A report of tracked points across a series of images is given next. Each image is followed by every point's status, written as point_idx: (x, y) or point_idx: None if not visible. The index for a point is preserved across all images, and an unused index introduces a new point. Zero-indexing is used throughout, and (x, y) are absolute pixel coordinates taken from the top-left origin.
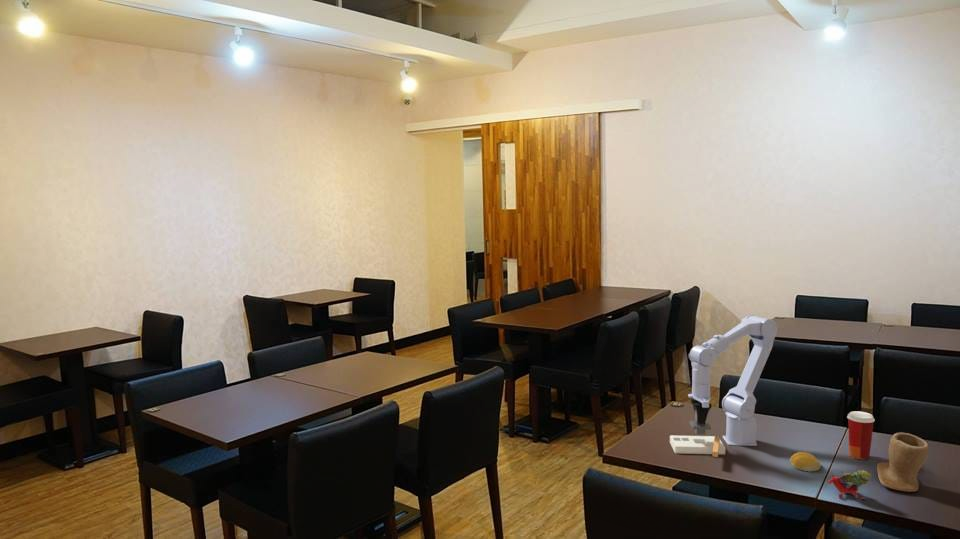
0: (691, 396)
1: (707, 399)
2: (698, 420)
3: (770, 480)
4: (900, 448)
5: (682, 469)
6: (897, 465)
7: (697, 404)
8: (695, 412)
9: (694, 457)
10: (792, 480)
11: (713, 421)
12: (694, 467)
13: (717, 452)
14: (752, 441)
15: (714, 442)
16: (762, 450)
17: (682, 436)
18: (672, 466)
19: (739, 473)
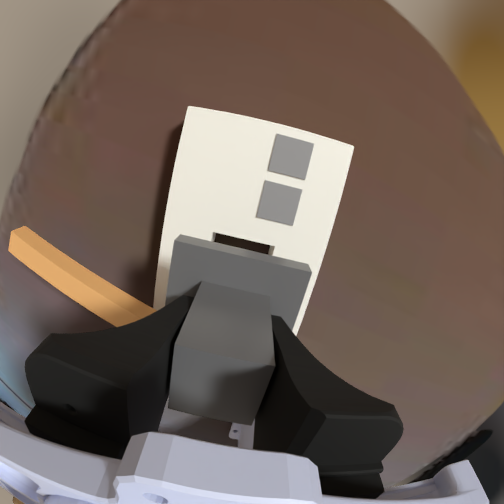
0: (117, 480)
1: (3, 486)
2: (171, 304)
3: (10, 331)
4: (15, 499)
5: (55, 101)
6: None
7: (36, 382)
8: (258, 342)
9: (143, 186)
10: (22, 372)
11: (449, 392)
12: (60, 150)
13: (9, 248)
14: (239, 438)
15: (96, 294)
16: (195, 430)
17: (324, 207)
18: (82, 69)
19: (27, 282)
